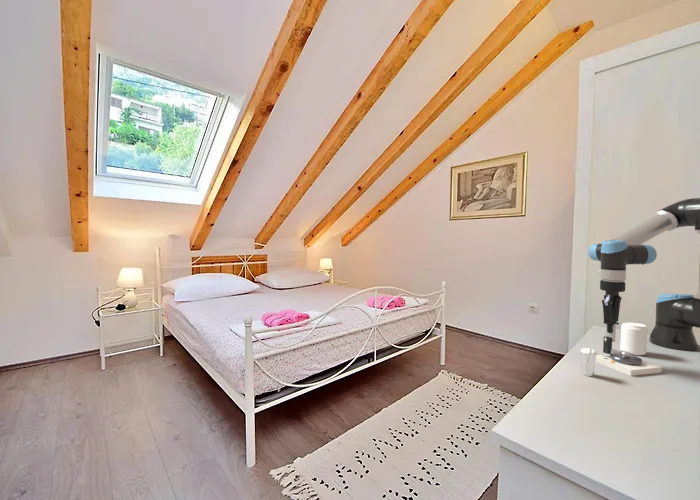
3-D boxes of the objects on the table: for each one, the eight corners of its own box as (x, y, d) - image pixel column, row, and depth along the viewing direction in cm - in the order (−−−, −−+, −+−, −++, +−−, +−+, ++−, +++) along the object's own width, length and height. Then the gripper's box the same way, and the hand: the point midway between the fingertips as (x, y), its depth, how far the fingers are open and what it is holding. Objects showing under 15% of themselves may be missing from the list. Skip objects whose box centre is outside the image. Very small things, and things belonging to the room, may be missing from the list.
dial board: (620, 357, 127) (620, 352, 127) (661, 372, 113) (661, 366, 113) (592, 360, 124) (592, 354, 124) (630, 375, 110) (630, 369, 110)
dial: (644, 361, 117) (645, 341, 117) (638, 367, 112) (639, 347, 112) (606, 352, 126) (607, 334, 126) (599, 357, 121) (600, 338, 121)
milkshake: (581, 376, 109) (582, 348, 109) (578, 370, 114) (579, 343, 114) (598, 379, 107) (599, 350, 107) (594, 373, 112) (595, 345, 111)
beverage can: (635, 349, 136) (637, 321, 136) (651, 356, 128) (653, 327, 127) (615, 348, 137) (616, 321, 136) (629, 355, 129) (631, 326, 128)
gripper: (606, 277, 128) (604, 334, 130) (594, 280, 121) (592, 341, 123) (630, 279, 122) (628, 339, 124) (619, 283, 115) (616, 346, 116)
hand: (610, 340), depth 123 cm, fingers closed
